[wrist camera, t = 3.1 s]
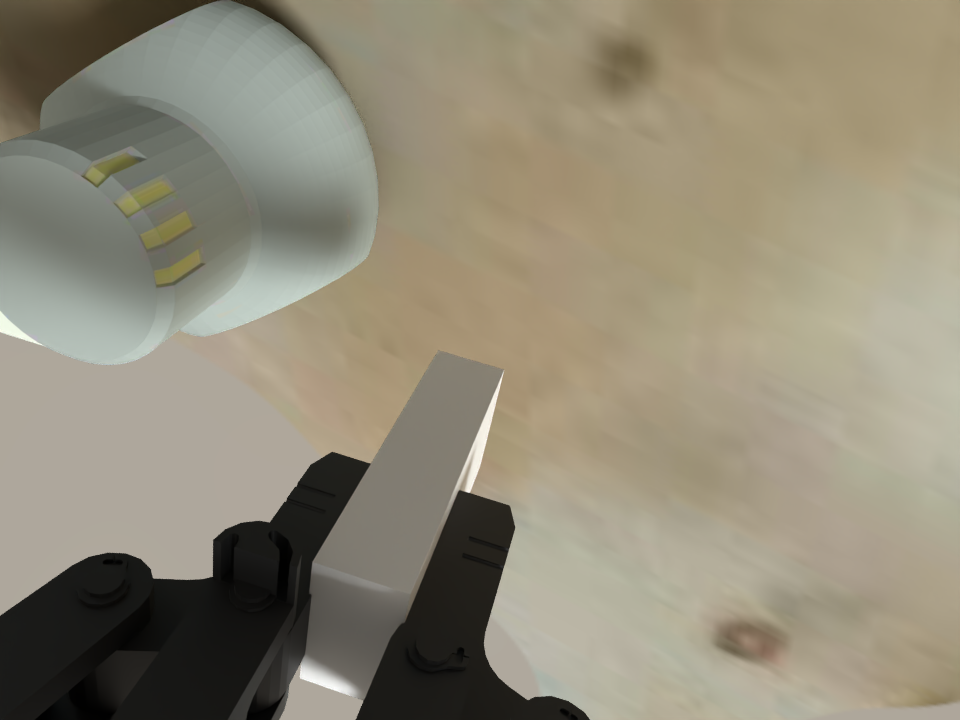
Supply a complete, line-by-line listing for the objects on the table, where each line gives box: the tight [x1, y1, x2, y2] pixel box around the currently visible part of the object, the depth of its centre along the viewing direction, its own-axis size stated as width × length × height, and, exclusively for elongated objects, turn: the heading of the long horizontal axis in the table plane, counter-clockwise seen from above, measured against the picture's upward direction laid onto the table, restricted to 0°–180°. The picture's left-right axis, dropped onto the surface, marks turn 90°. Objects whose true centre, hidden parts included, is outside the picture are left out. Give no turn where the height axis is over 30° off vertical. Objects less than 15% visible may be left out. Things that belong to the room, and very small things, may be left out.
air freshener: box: [0, 0, 379, 365], centre depth 22 cm, size 11×8×10 cm
